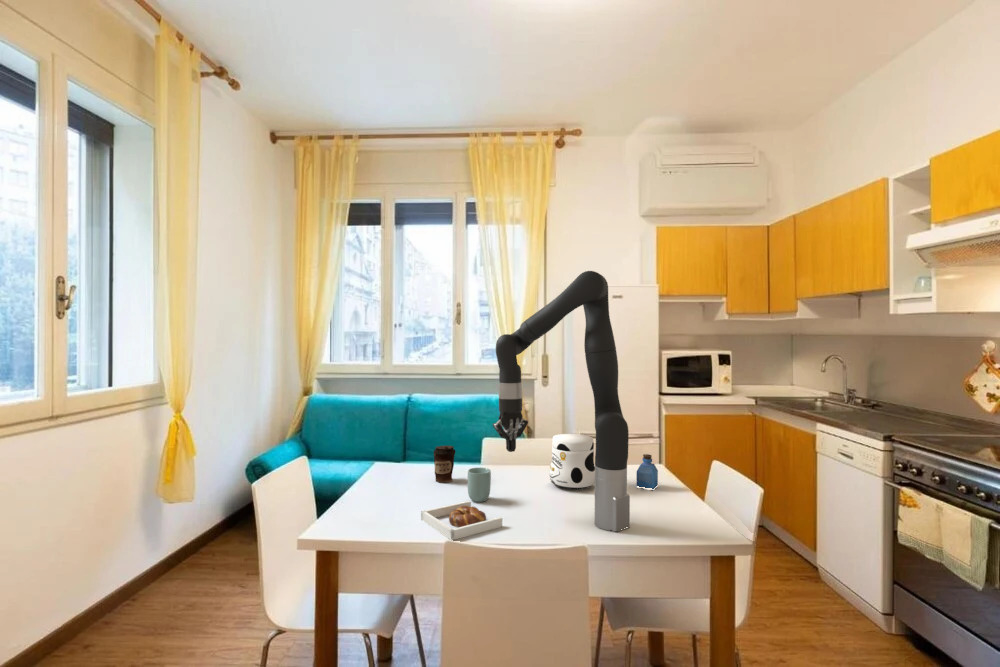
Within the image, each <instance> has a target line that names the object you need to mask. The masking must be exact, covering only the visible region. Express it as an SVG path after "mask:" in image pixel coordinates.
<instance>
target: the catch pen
mask: <svg viewBox="0 0 1000 667" xmlns="http://www.w3.org/2000/svg"><path fill="white" fill-rule="evenodd" d="M461 506H469V507H472V500H466V501H462V502H456V503H452V504H448V505H443V506H438V507H433V508H430V509H425V510H421V512H420V520H421V521H423V522H424V523H425V524H427V525H428V526H430V527H431V528H432V529H434V530H435V531H437V532H438V533H440V535H441V534H442V535H443V536H444V537H445V538H447V539H448V540H450V539H452V540H451V541H454V540H458V539H461V538H465V537H469V536H473V535H477V534H479V533H484V532H487V531H490V530H491V531H492V530H494V529H495V530H496V529H499V528H503V517H501V516H499V517H495V518H490V519H486V520H485V521H482V522H478V523H474V524H470V525H467V526H463V527H456V528H455V527H454V528H452V527H450V526H449V525H447V524H446V523H445V522H443V521H441V520H440V519H438V518H439V517H440V518H441V517H443V516H447V515H448V516H449V515H450V513H451V512H452V511H454V510H456V509H457V508H459V507H461Z"/></svg>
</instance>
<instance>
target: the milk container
mask: <svg viewBox="0 0 1000 667" xmlns="http://www.w3.org/2000/svg"><path fill="white" fill-rule="evenodd" d="M551 442H552V443H551V446H552V447H551V461H550V462H551V463H550V466H549V470H548V471H549V480H550V482H551V483H552V484H553V485H555V486H556V487H559V488H560V489H561V488H562V489H566V490H573V491H574V490H586V489H588V488H591V487H593V485H594V486H595V448H594V447H595V443H594V438H593V437H592V436H589V435H587V434H586V435H585V434H578V433H577V434H576V433H575V434H574V433H561V434H560V433H559V434H555V435H553V436H552V441H551Z"/></svg>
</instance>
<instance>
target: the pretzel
mask: <svg viewBox="0 0 1000 667" xmlns="http://www.w3.org/2000/svg"><path fill="white" fill-rule="evenodd" d="M486 520H487V516H486V513H485V512H484V511H482V510H480V509H479V508H477V507H476V506H471V507H469V506H461V507H459V508H457V509H456V510H454V511H452V512H451V513H450V514H449V515H448V521H449V522H448V523H449V524H450V525H452V526H454V527H456V528H459V527H463V526H467V525H470V524H474V523H478V522H482V521H486Z"/></svg>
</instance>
